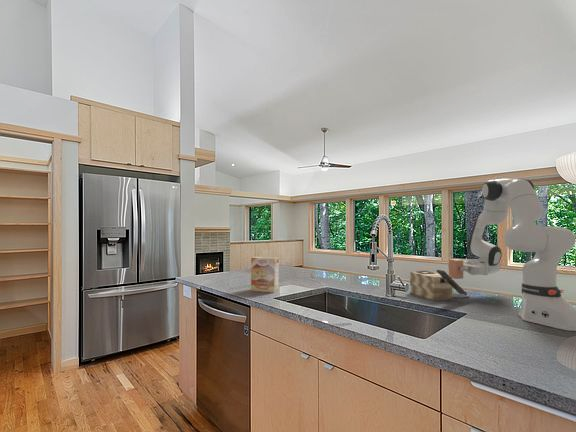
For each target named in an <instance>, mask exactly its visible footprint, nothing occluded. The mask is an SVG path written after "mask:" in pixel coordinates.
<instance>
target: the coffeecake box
mask: <svg viewBox="0 0 576 432" xmlns="http://www.w3.org/2000/svg"><path fill="white" fill-rule="evenodd" d="M279 259H280V258H279V257H273V256H272V257H271V256H252V257H251V259H250V261H251V263H250V291H251V292H261V293H262V292H263V293H273V294H274V293H277V292H278V291H279V279H280V278H279V276H280V275H279V272H280V271H279V269H280V267H279V266H280V263H279Z"/></svg>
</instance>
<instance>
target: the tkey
mask: <svg viewBox="0 0 576 432" xmlns="http://www.w3.org/2000/svg"><path fill="white" fill-rule="evenodd" d="M436 273H439V274H440V275H441V276H442V277H443V278H444V279H443V280H442V282H445V283H449V284H450V285H451V286H452V289H454V290H455V291H456V293H458V294H462V295H466V296H468V293H467V292H466V291H465V289H463V288H462V287H461V286H460V284H458V283H457V282H456V281H455V280H454V278H451V277H450V276H449V273H447V272H446V271H445V270H440V269H436Z"/></svg>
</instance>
